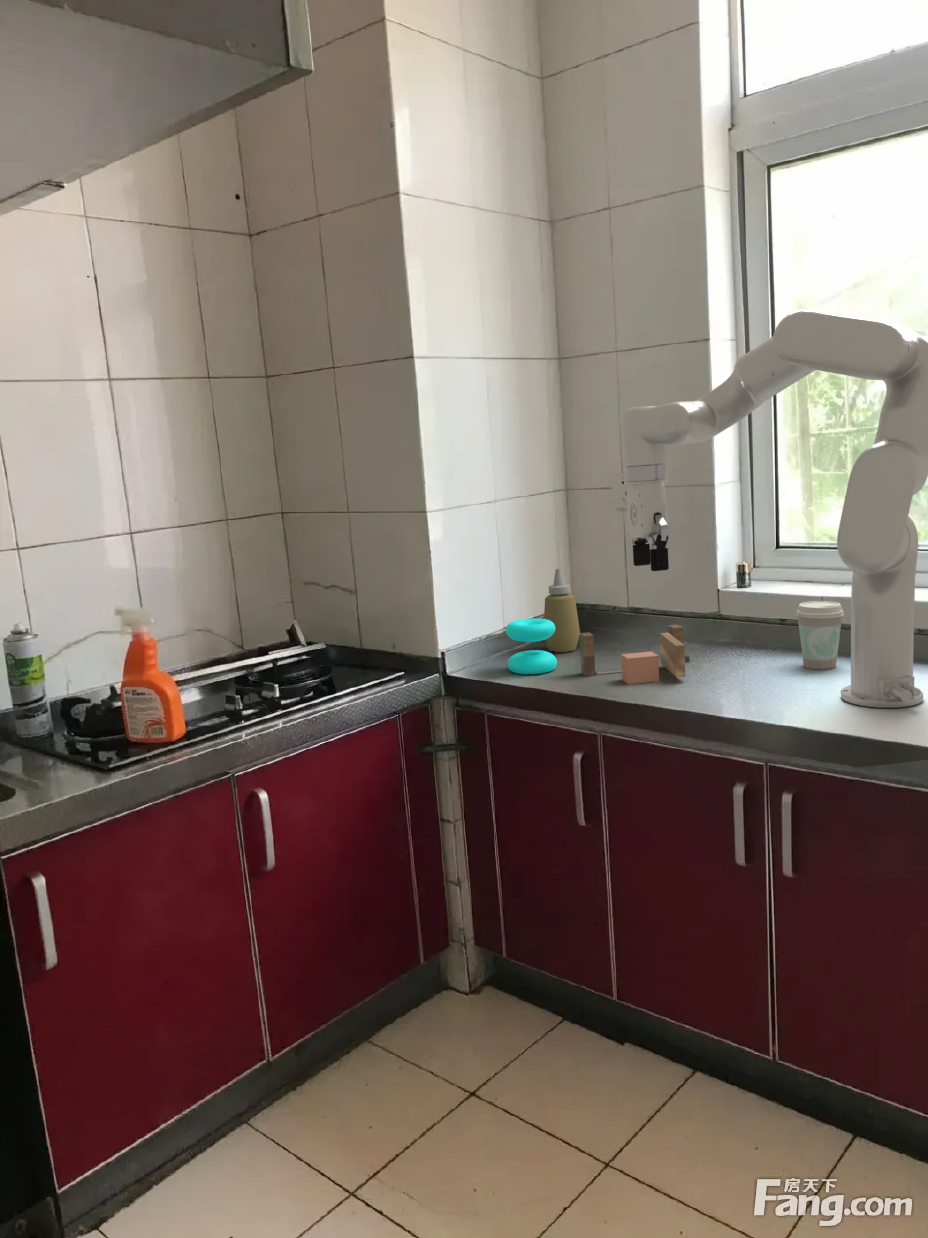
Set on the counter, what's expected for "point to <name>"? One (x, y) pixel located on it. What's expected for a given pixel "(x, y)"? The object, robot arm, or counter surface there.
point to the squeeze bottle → (561, 616)
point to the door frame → (588, 651)
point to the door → (673, 654)
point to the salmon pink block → (640, 667)
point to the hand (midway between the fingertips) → (650, 567)
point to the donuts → (533, 658)
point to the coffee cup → (819, 633)
